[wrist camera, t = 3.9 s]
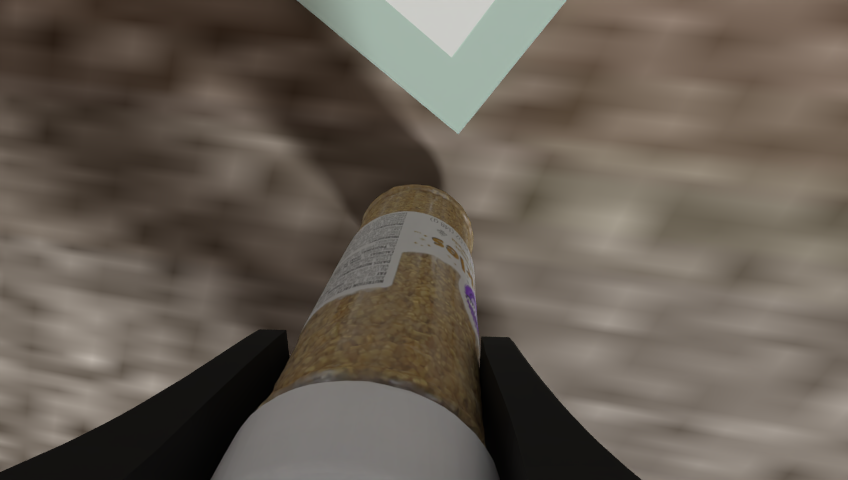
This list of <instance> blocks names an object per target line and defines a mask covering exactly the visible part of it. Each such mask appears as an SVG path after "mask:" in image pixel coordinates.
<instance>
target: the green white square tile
mask: <svg viewBox="0 0 848 480" xmlns="http://www.w3.org/2000/svg"><path fill="white" fill-rule="evenodd" d="M297 1H298V2H300V3H301V4H302V5H303V6H304V7H306V8H307V9H308V10H309V11H310V12H312V13H313V14H314V15H315V16H316V17H318V18H319V19H320V20H321V21H322V22H324V23H325V24H326V25H327V26H328V27H330V28H331V29H332V30H333V31H334V32H336V33H337V34H338V35H339V36H340V37H342V38H343V39H344V40H345V41H347V42H348V43H349V44H350V45H351V46H353V47H354V48H355V49H356V50H357V51H359V52H360V53H361V54H362V55H363V56H365V57H366V58H367V59H368V60H369V61H371V62H372V63H373V64H374V65H375V66H377V67H378V68H379V69H380V70H381V71H383V72H384V73H385V74H386V75H388V76H389V77H390V78H391V79H392V80H394V81H395V82H396V83H397V84H398V85H400V86H401V87H402V88H403V89H404V90H406V91H407V92H408V93H409V94H410V95H412V96H413V97H414V98H415V99H416V100H418V101H419V102H420V103H421V104H422V105H424V106H425V107H426V108H427V109H429V110H430V111H431V112H432V113H433V114H435V115H436V116H437V117H438V118H439V119H441V120H442V121H443V122H444V123H445V124H447V125H448V126H449V127H450V128H451V129H453V130H454V131H455V132H456V133H457V134H459V133H460V132H461V130H462V129H463V128H464V127H465V125H466V124H467V123H468V122H469V120H470V119H471V118H472V117H473V115H474V114H475V113H476V112H477V110H478V109H479V108H480V107H481V106H482V104H483V103H484V102H485V101H486V99H487V98H488V97H489V96H490V94H491V93H492V92H493V91H494V89H495V88H496V87H497V86H498V85H499V83H500V82H501V81H502V80H503V78H504V77H505V76H506V75H507V73H508V72H509V71H510V70H511V68H512V67H513V66H514V65H515V63H516V62H517V61H518V60H519V59H520V57H521V56H522V55H523V54H524V52H525V51H526V50H527V49H528V47H529V46H530V45H531V44H532V42H533V41H534V40H535V39H536V38H537V36H538V35H539V34H540V33H541V31H542V30H543V29H544V28H545V26H546V25H547V24H548V23H549V21H550V20H551V19H552V18H553V16H554V15H555V14H556V13H557V12H558V10H559V9H560V8H561V7H562V5H563V4H564V3H565V2H566V0H297Z"/></svg>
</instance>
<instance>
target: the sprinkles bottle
mask: <svg viewBox="0 0 848 480" xmlns="http://www.w3.org/2000/svg"><path fill="white" fill-rule="evenodd" d="M472 249H473V231H472V228H471V222H470V220H469V218H468V216H467V214H466V212H465V211H464V209H463V208H462V206H461V205H460V204H459V203H458V202H457V201H455V200H454V199H453V198H452V197H451V196H450V195H448V194H447V193H446V192H444V191H442V190H439V189H437V188H434V187H431V186H428V185H418V184H411V185H403V186H397V187H393V188H392V189H390V190H388V191H387V192H385V193H383V194H381V195H380V196H378V197H377V198H376V199H375V200H374V201H373V202H372V203H371V204H370V206H369V207H368V209H367V210H366V212H365V214H364V216H363V219H362V224H361V227H360V229H359V231H358V233H357V234H356V235H355V236H354V238H353V239H352V241H351V242H350V244H349V246H348V247H347V249H346V251H345V253H344V254H343V256H342V258H341V260H340V261H339V263H338V265H337V267H336V269H335V271H334V272H333V274H332V276H331V278H330V280H329V282H328V283H327V285H326V287H325V289H324V291H323V293H322V295H321V296H320V298H319V300H318V302H317V304H316V305H315V307H314V309H313V311H312V313H311V314H310V316H309V318H308V320H307V322H306V323H305V325H304V327H303V329H302V331H301V333H300V336H299V339H298V343H297V345H296V347H295V349H294V351H293V353H292V354H291V356H290V358H289V360H288V362H287V364H286V366H285V368H284V370H283V372H282V373H281V375H280V377H279V379H278V380H277V382H276V383H275V386H274V390H273V392H272V393H271V395H270V396H269V397H268V398H267V399H266V400H265V401H264V402H263V403H262V404H261V405H260V406H259V407H258V409H257V410H256V411H255V412H254V413H253V414H251V415H250V417H249V418H248V419H247V420H246V421H245V423H244V424H243V425H242V426H241V428H240V429H239V431H238V432H237V434H236V435H235V437H234V439H233V440H232V442H231V444H230V446H229V447H228V449H227V451H226V453H225V455H224V456H223V458H222V460H221V462H220V463H219V465H218V467H217V469H216V471H215V472H214V474H213V476H212V478H211V480H500V478H499V475H498V472H497V469H496V466H495V463H494V461H493V459H492V457H491V456H490V454H489V452H488V451H487V449H486V445H485V432H484V426H483V418H482V413H483V409H482V399H481V384H480V369H479V358H480V345H479V332H478V322H477V308H476V294H475V274H474V265H473V261H472V255H471V253H472Z"/></svg>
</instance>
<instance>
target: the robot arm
mask: <svg viewBox="0 0 848 480" xmlns="http://www.w3.org/2000/svg"><path fill="white" fill-rule="evenodd" d="M288 360H289V350H288V341H287V333H286V330H261V329H260V330H258V331H256V332H254V333H253V334H251V335H249V336H248V337H246V338H244V339H243V340H241V341H240V342H238V343H237V344H235V345H234V346H232V347H231V348H229V349H227V350H226V351H224V352H223V353H221V354H220V355H218V356H217V357H215V358H214V359H212V360H211V361H209V362H208V363H206V364H205V365H203V366H201V367H200V368H198V369H197V370H195V371H194V372H192V373H191V374H189V375H188V376H186V377H184V378H183V379H181V380H180V381H178V382H176V383H175V384H173V385H171V386H170V387H168V388H166V389H165V390H163V391H161V392H160V393H158V394H156V395H155V396H153V397H151V398H150V399H148V400H146V401H145V402H143V403H141V404H140V405H138V406H136V407H134V408H133V409H131V410H129V411H127V412H125V413H124V414H122V415H120V416H118V417H116V418H114V419H112V420H111V421H109V422H107V423H105V424H103V425H101V426H99V427H97V428H95V429H93V430H91V431H89V432H87V433H85V434H83V435H81V436H79V437H77V438H75V439H73V440H71V441H69V442H67V443H65V444H63V445H61V446H58V447H56V448H54V449H51V450H49V451H47V452H45V453H42V454H40V455H38V456H36V457H33V458H31V459H29V460H27V461H24V462H22V463H20V464H18V465H15V466H13V467H11V468H9V469H6V470H4V471H2V472H0V480H211V478H212V476H213V474H214V472H215V471H216V469H217V467H218V465H219V463H220V462H221V460H222V458H223V456H224V455H225V453H226V451H227V449H228V447H229V446H230V444H231V442H232V440H233V439H234V437H235V435H236V434H237V432H238V431H239V429H240V428H241V426H242V425H243V424H244V423H245V421H246V420H247V419H248V418H249V417H250V415H251V414H253V413H254V412H255V411H256V410H257V409H258V407H259V406H260V405H261V404H262V403H263V402H264V401H265V400H266V399H267V398H268V397H269V396H270V395H271V393H272V392H273V390H274V386H275V383H276V382H277V380H278V379H279V377H280V375H281V373H282V372H283V370H284V368H285V366H286V364H287V362H288ZM480 384H481V399H482V409H483V413H482V418H483V426H484V432H485V445H486V449H487V451H488V452H489V454H490V456H491V457H492V459H493V461H494V463H495V466H496V469H497V472H498V475H499V478H500V480H641V479H640V478H639V477H638V476H636V475H635V474H634V473H633V472H631V471H630V470H629V469H628V468H627V467H626V466H624V465H623V464H622V463H621V462H620V461H619V460H618V459H617V458H615V457H614V456H613V455H612V454H611V453H610V452H609V451H608V450H607V449H605V448H604V447H603V446H602V445H601V444H600V443H599V442H598V441H597V440H596V439H595V438H594V437H593V436H592V435H591V434H590V433H589V432H588V431H587V430H586V429H585V428H584V427H583V426H582V425H581V424H580V423H579V422H578V421H577V420H576V419H575V418H574V417H573V416H572V415H571V414H570V412H569V411H568V410H567V409H566V408H565V407H564V406H563V405H562V404H561V402H560V401H559V400H558V399H557V398H556V397H555V395H554V394H553V393H552V392H551V391H550V389H549V388H548V387H547V386H546V385H545V383H544V382H543V381H542V380H541V379H540V377H539V376H538V375H537V373H536V372H535V371H534V370H533V368H532V367H531V366H530V364H529V363H528V362H527V360H526V359H525V358H524V356H523V355H522V353H521V352H520V351H519V349H518V348H517V346H516V345H515V343H514V342H513V341H512V340H511V339H510V338H509V337H481V354H480Z"/></svg>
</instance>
